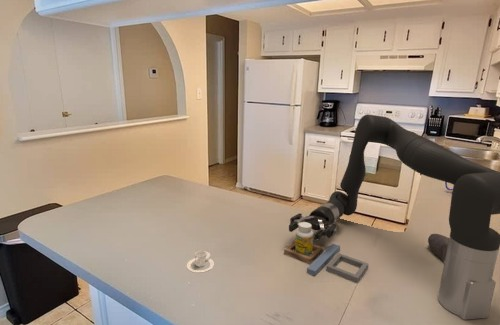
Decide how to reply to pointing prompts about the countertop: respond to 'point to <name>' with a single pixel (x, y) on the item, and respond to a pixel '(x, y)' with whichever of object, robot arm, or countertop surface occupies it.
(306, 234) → the supplement bottle
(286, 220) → the countertop surface
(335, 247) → the door sill
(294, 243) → the holder
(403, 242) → the countertop surface
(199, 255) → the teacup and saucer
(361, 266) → the holder open
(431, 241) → the perforated stone tool
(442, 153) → the robot arm
